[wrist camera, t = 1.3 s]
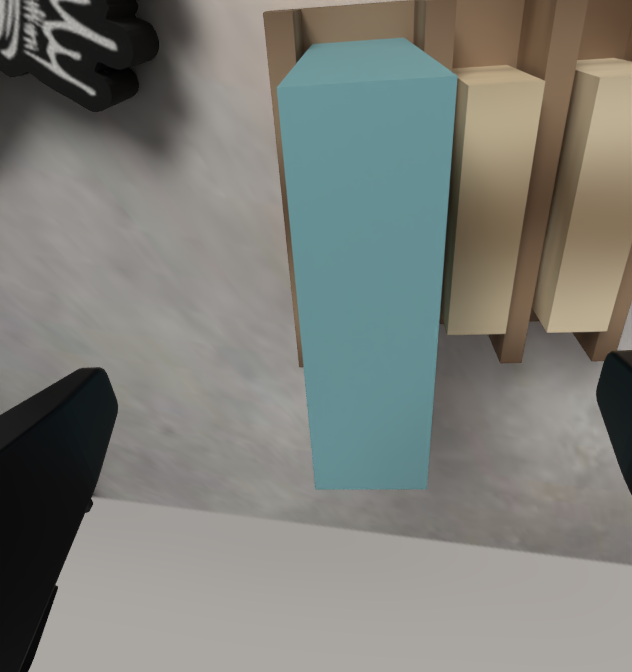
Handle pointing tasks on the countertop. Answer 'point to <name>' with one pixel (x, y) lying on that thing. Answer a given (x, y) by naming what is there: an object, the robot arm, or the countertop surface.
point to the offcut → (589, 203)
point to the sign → (77, 47)
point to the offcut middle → (487, 194)
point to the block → (368, 251)
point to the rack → (478, 51)
